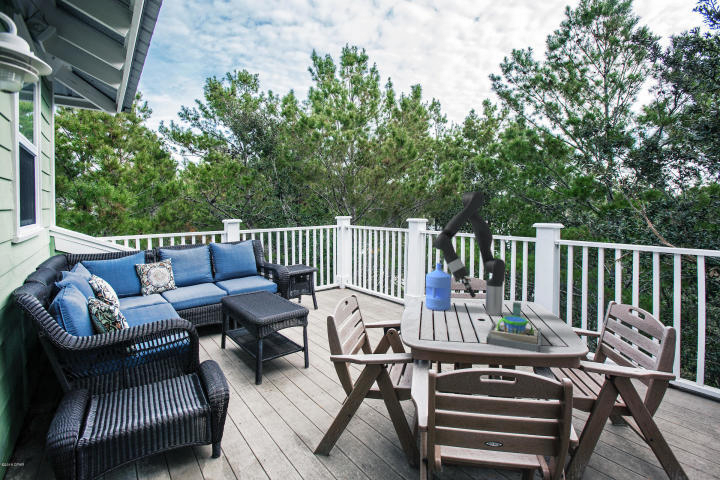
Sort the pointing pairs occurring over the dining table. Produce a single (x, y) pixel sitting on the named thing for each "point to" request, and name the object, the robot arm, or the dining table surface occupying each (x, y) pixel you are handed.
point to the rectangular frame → (513, 342)
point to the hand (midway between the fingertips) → (473, 296)
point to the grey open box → (511, 336)
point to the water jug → (438, 290)
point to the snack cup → (515, 325)
